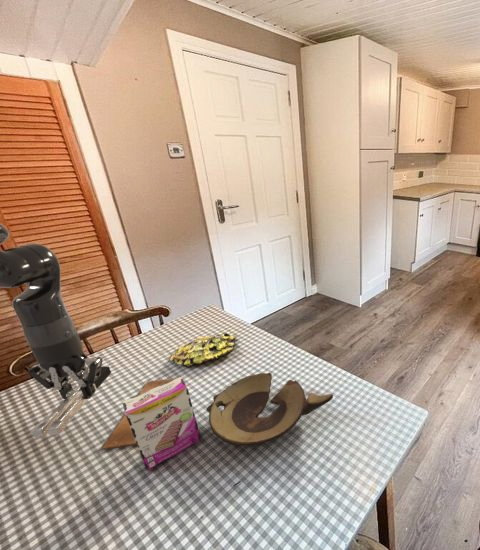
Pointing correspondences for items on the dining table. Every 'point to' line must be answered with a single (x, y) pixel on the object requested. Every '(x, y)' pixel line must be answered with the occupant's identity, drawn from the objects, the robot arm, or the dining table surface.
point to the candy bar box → (162, 422)
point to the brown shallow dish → (259, 410)
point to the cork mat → (123, 430)
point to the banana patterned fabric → (204, 349)
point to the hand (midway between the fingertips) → (80, 397)
